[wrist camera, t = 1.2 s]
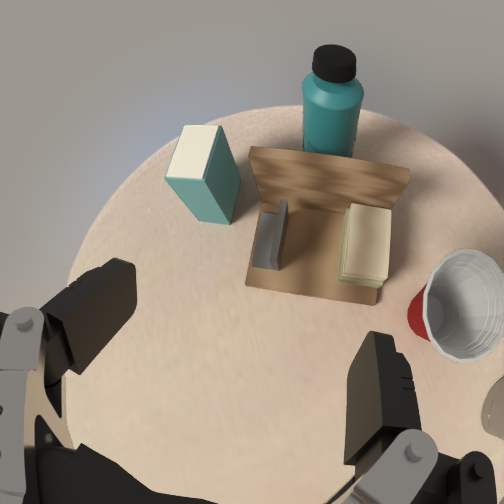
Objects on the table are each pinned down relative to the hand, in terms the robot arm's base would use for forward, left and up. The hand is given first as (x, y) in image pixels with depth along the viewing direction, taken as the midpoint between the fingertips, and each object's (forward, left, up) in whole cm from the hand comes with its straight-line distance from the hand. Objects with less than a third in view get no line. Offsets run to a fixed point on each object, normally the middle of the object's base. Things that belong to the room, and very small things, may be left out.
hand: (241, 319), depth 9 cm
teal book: (+8, -17, -27) cm, 33 cm away
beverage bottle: (-6, -22, -27) cm, 36 cm away
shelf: (-4, -10, -27) cm, 29 cm away
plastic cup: (-19, -1, -27) cm, 33 cm away
